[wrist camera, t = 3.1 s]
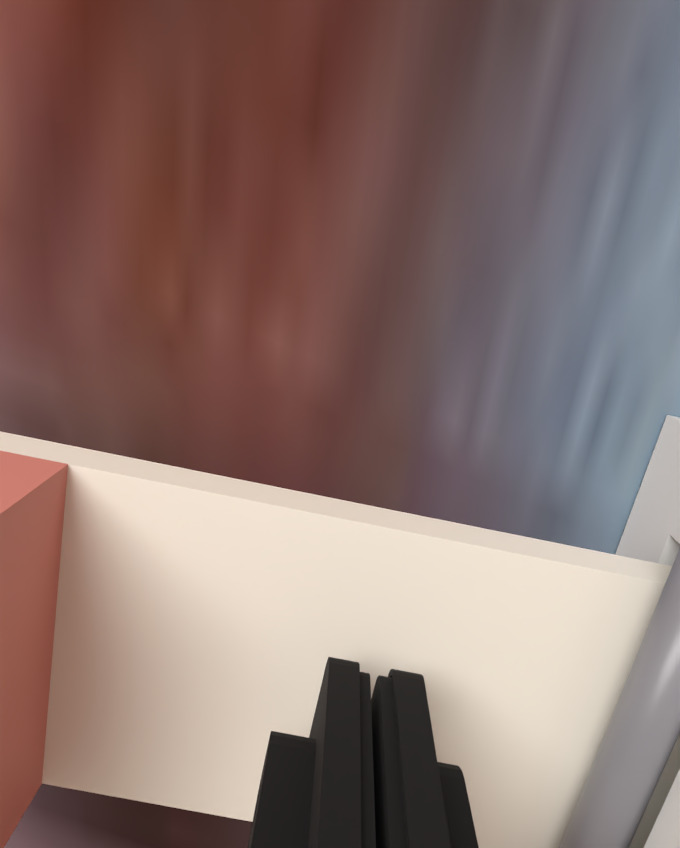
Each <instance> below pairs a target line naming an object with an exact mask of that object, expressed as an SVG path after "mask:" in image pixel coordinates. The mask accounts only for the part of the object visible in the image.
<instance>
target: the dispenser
mask: <svg viewBox="0 0 680 848" xmlns="http://www.w3.org/2000/svg"><path fill="white" fill-rule="evenodd" d="M615 555H619V556H624V557H629V558H634V559H639V560H644V561H649V562H654V563H659V564H664V565H669V566H672V568H671V571H670V573H669V576H668V578H667V581H666V583H665V586H664V588H663V591H662V593H661V596H660V598H659V600H658V603H657V605H656V608H655V610H654V613H653V615H652V618H651V620H650V623H649V625H648V628H647V630H646V633H645V635H644V638H643V640H642V643H641V645H640V648H639V650H638V652H637V655H636V657H635V660H634V662H633V665H632V667H631V670H630V672H629V675H628V677H627V680H626V682H625V685H624V687H623V690H622V692H621V695H620V697H619V699H618V702H617V704H616V707H615V709H614V712H613V714H612V717H611V719H610V722H609V724H608V727H607V729H606V732H605V734H604V737H603V739H602V742H601V744H600V746H599V749H598V751H597V754H596V756H595V759H594V761H593V764H592V766H591V769H590V771H589V774H588V776H587V779H586V781H585V784H584V786H583V789H582V791H581V794H580V796H579V798H578V801H577V803H576V806H575V808H574V811H573V813H572V816H571V818H570V821H569V823H568V826H567V828H566V831H565V833H564V836H563V838H562V841H561V843H560V845H559V848H629V846H630V844H631V841H632V839H633V837H634V835H635V832H636V830H637V828H638V826H639V823H640V821H641V819H642V817H643V815H644V812H645V810H646V808H647V806H648V803H649V801H650V799H651V797H652V794H653V792H654V790H655V788H656V785H657V783H658V781H659V779H660V777H661V774H662V772H663V770H664V768H665V765H666V763H667V761H668V759H669V756H670V754H671V752H672V750H673V747H674V745H675V743H676V741H677V739H678V736H679V734H680V418H679V417H674V416H670V415H667V416H666V419H665V422H664V424H663V427H662V430H661V432H660V435H659V438H658V441H657V443H656V446H655V449H654V451H653V454H652V457H651V459H650V462H649V465H648V467H647V470H646V473H645V476H644V478H643V481H642V484H641V486H640V489H639V492H638V494H637V497H636V500H635V502H634V505H633V508H632V510H631V513H630V516H629V519H628V521H627V524H626V527H625V529H624V532H623V535H622V537H621V540H620V543H619V545H618V548H617V551H616V554H615ZM644 848H680V769H679V771H678V773H677V776H676V778H675V780H674V782H673V784H672V787H671V789H670V791H669V793H668V795H667V798H666V800H665V802H664V804H663V806H662V809H661V811H660V813H659V815H658V817H657V819H656V822H655V824H654V826H653V828H652V830H651V833H650V835H649V837H648V839H647V841H646V844H645V846H644Z"/></svg>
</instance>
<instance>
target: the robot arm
mask: <svg viewBox="0 0 680 848" xmlns="http://www.w3.org/2000/svg"><path fill="white" fill-rule="evenodd" d="M248 848H479V847H478V842H477V837H476V832H475V827H474V823H473V818H472V813H471V808H470V803H469V798H468V793H467V789H466V784H465V779H464V776H463V772H462V770H461V768H460V767H459V766H457V765H452V764H446V763H441V762H437V757H436V750H435V744H434V738H433V732H432V725H431V719H430V713H429V706H428V700H427V694H426V688H425V681H424V677H423V675H422V674H417V673H412V672H406V671H401V670H396V669H391V670H390V672H389V674H388V677H386V676H380V675H379V676H378V677H377V679H376V683H375V687H374V690H373V694H372V698H371V683H370V674H369V673H365V672H360V664H359V662H354V661H349V660H344V659H338V658H333V657H328V660H327V663H326V667H325V671H324V675H323V680H322V684H321V688H320V693H319V697H318V701H317V705H316V710H315V714H314V718H313V722H312V727H311V731H310V735H309V738H307V737H302V736H297V735H291V734H286V733H281V732H275V731H271V733H270V737H269V742H268V747H267V751H266V756H265V761H264V766H263V770H262V775H261V780H260V785H259V790H258V795H257V801H256V806H255V811H254V816H253V822H252V827H251V833H250V838H249V844H248Z"/></svg>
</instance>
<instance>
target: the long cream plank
mask: <svg viewBox="0 0 680 848" xmlns="http://www.w3.org/2000/svg"><path fill="white" fill-rule="evenodd" d="M671 568H672V566H669V565H664V564H659V563H654V562H649V561H644V560H639V559H634V558H629V557H624V556H619V555H614V554H609V553H604V552H599V551H594V550H589V549H584V548H579V547H574V546H569V545H564V544H559V543H554V542H549V541H544V540H539V539H534V538H529V537H524V536H519V535H514V534H509V533H504V532H499V531H494V530H489V529H484V528H479V527H474V526H469V525H464V524H459V523H454V522H449V521H444V520H439V519H434V518H429V517H424V516H419V515H414V514H409V513H404V512H399V511H394V510H389V509H384V508H379V507H374V506H369V505H364V504H359V503H354V502H350V501H345V500H340V499H335V498H330V497H325V496H320V495H315V494H310V493H305V492H300V491H295V490H290V489H285V488H280V487H275V486H270V485H265V484H260V483H255V482H250V481H245V480H240V479H235V478H230V477H225V476H220V475H215V474H210V473H205V472H200V471H195V470H190V469H185V468H180V467H175V466H170V465H165V464H160V463H155V462H150V461H145V460H140V459H135V458H130V457H125V456H120V455H115V454H110V453H105V452H100V451H95V450H90V449H85V448H80V447H75V446H70V445H65V444H60V443H55V442H50V441H45V440H40V439H35V438H30V437H25V436H20V435H15V434H10V433H5V432H0V848H4V846H5V845H6V843H7V841H8V840H9V838H10V836H11V835H12V833H13V831H14V830H15V828H16V826H17V825H18V823H19V821H20V819H21V818H22V816H23V814H24V813H25V811H26V809H27V808H28V806H29V804H30V803H31V801H32V799H33V797H34V796H35V794H36V792H37V791H38V789H39V787H40V786H41V784H48V785H53V786H59V787H64V788H70V789H75V790H81V791H86V792H92V793H97V794H103V795H108V796H114V797H119V798H125V799H130V800H135V801H141V802H146V803H152V804H157V805H163V806H168V807H174V808H179V809H185V810H190V811H196V812H201V813H207V814H212V815H217V816H223V817H228V818H234V819H239V820H245V821H250V822H253V816H254V811H255V806H256V801H257V795H258V790H259V785H260V780H261V775H262V770H263V766H264V761H265V756H266V751H267V747H268V742H269V737H270V733H271V731H275V732H281V733H286V734H291V735H297V736H302V737H307V738H309V735H310V731H311V727H312V722H313V718H314V714H315V710H316V705H317V701H318V697H319V693H320V688H321V684H322V680H323V675H324V671H325V667H326V663H327V660H328V657H333V658H338V659H344V660H349V661H354V662H359V664H360V672H365V673H369V674H370V683H371V698H372V694H373V690H374V687H375V683H376V679H377V677H378V676H379V675H380V676H386V677H388V674H389V672H390V670H391V669H396V670H401V671H406V672H412V673H417V674H422V675H423V677H424V681H425V688H426V694H427V700H428V706H429V713H430V719H431V725H432V732H433V738H434V744H435V750H436V757H437V762H441V763H446V764H452V765H457V766H459V767H460V768H461V770H462V772H463V776H464V779H465V784H466V789H467V793H468V798H469V803H470V808H471V813H472V818H473V823H474V827H475V832H476V837H477V842H478V847H479V848H559V845H560V843H561V841H562V838H563V836H564V833H565V831H566V828H567V826H568V823H569V821H570V818H571V816H572V813H573V811H574V808H575V806H576V803H577V801H578V798H579V796H580V794H581V791H582V789H583V786H584V784H585V781H586V779H587V776H588V774H589V771H590V769H591V766H592V764H593V761H594V759H595V756H596V754H597V751H598V749H599V746H600V744H601V742H602V739H603V737H604V734H605V732H606V729H607V727H608V724H609V722H610V719H611V717H612V714H613V712H614V709H615V707H616V704H617V702H618V699H619V697H620V695H621V692H622V690H623V687H624V685H625V682H626V680H627V677H628V675H629V672H630V670H631V667H632V665H633V662H634V660H635V657H636V655H637V652H638V650H639V648H640V645H641V643H642V640H643V638H644V635H645V633H646V630H647V628H648V625H649V623H650V620H651V618H652V615H653V613H654V610H655V608H656V605H657V603H658V600H659V598H660V596H661V593H662V591H663V588H664V586H665V583H666V581H667V578H668V576H669V573H670V571H671ZM679 769H680V734H679V736H678V739H677V741H676V743H675V745H674V747H673V750H672V752H671V754H670V756H669V759H668V761H667V763H666V765H665V768H664V770H663V772H662V774H661V777H660V779H659V781H658V783H657V785H656V788H655V790H654V792H653V794H652V797H651V799H650V801H649V803H648V806H647V808H646V810H645V812H644V815H643V817H642V819H641V821H640V823H639V826H638V828H637V830H636V832H635V835H634V837H633V839H632V841H631V844H630V846H629V848H644V846H645V844H646V841H647V839H648V837H649V835H650V833H651V830H652V828H653V826H654V824H655V822H656V819H657V817H658V815H659V813H660V811H661V809H662V806H663V804H664V802H665V800H666V798H667V795H668V793H669V791H670V789H671V787H672V784H673V782H674V780H675V778H676V776H677V773H678V771H679Z"/></svg>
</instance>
